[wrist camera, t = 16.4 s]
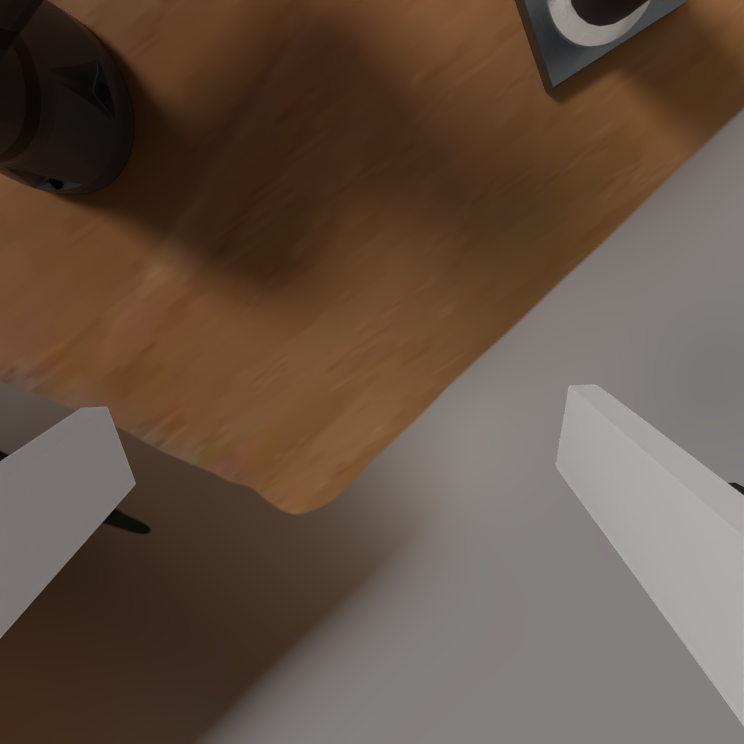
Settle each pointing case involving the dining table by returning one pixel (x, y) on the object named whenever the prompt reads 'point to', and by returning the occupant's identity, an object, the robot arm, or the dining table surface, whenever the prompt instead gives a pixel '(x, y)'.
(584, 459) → the robot arm
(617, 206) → the dining table surface
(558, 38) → the plate
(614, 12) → the vinegar
